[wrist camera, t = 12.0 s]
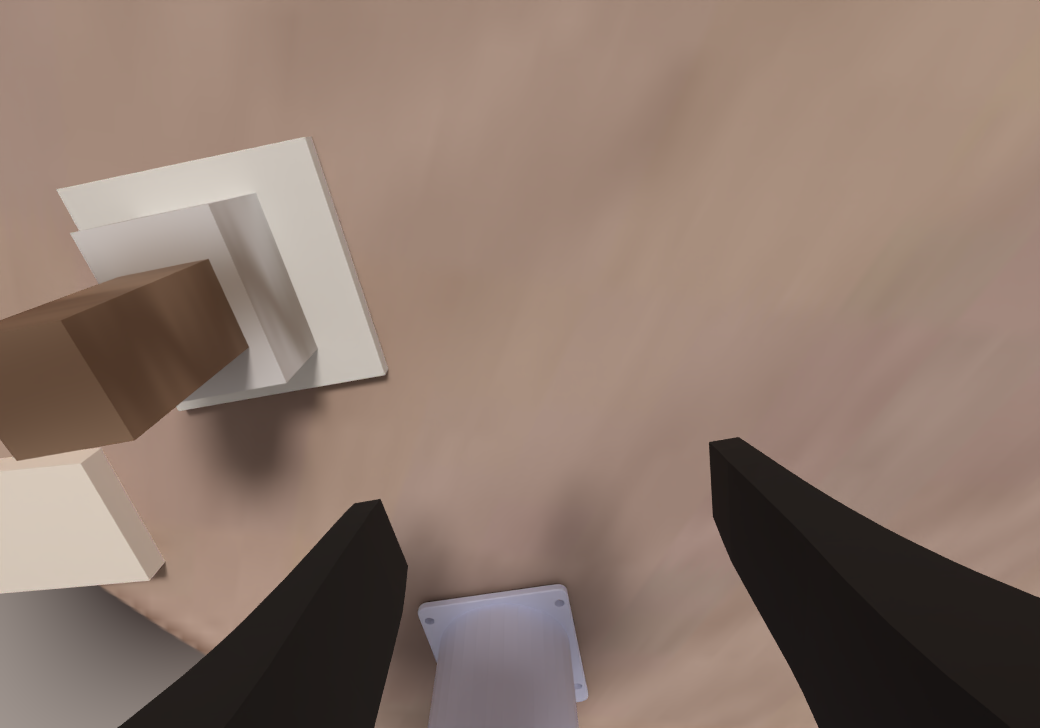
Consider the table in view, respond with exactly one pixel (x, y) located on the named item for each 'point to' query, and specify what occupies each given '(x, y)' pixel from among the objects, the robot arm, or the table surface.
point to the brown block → (152, 329)
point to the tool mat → (297, 232)
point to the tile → (70, 525)
